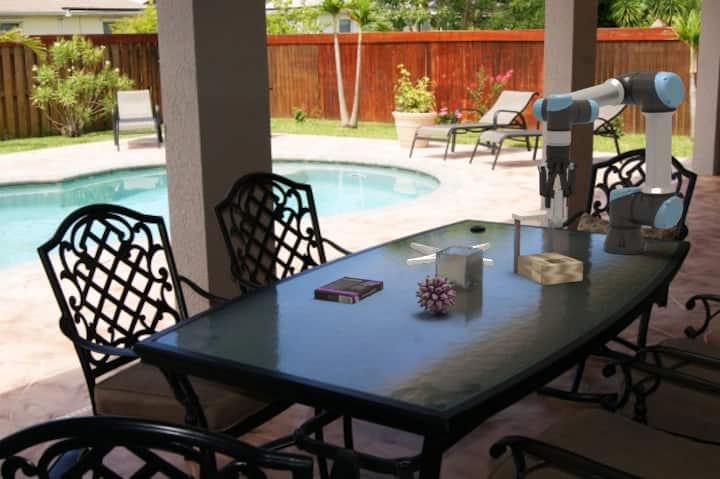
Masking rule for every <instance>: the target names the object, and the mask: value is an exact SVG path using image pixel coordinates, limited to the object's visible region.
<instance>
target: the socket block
mask: <svg viewBox="0 0 720 479" xmlns="http://www.w3.org/2000/svg"><path fill="white" fill-rule="evenodd" d="M517 274H518V275H520V276H523V277H525V278H527V279H530V280H532V281H534V282H536V283H539V284H541V285H543V286H546V285H547V286H548V285H556V284H564V283H573V282H581V281H583V278H584V277H583V276H584V262H583V261H581V260H577V259H575V258H572V257H570V256H566V255H564V254H561V253H559V252H555V251H554V252H549V253H548V252H543V253H542V252H541V253H534V254H533V253H532V254H523V255H522V254H520V256H518V273H517Z"/></svg>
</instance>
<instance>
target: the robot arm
mask: <svg viewBox="0 0 720 479" xmlns="http://www.w3.org/2000/svg"><path fill="white" fill-rule="evenodd" d="M684 97H685V85H684V83H683V81H682V79H681V77H680V76H679V75H678V74H676V73H675V72H669V71H633V72H629V73H625V74H621V75H618V76H615V77H611V78H608V79H607V80H605V81H604V82H603V83H601V84H598V85H594V86H591V87H587V88H583V89H580V90H576V91H573V92H569V93H566V94H551V95H549V96H548V97H547V98H546V97H544V98H542V97H541V98H538V99H536V100H535V102H533V105H532V115H533V117H534V119H535V120H536V121H540V122H544V123H546V138H545V140H546V141H545V142H546V146H545V157H546V159H545V162H544V163H542V164H541V165H540V164H539V165H537V170H538V173H539V174H538V175H539V176H538V177H539V178H538V179H539V180H538V182H539V183H538V184H539V185H538V186H539V189H538V191H539V193H538V194H539V197H543V198H544V207H545V209H546V210H547V218H549V219H553V206H554V199H553V198H551V197H552V192H553V188H554V187H555V181H556V178H557V176H559V177H558V178H559V182H560V184H559V185H560V189H563V219H565V218H567V208H569V207H568V206H569V199H570V198H571V196H574V195H575V187H576V172H577V169H578V166H579V164H577V163H573V162H571V159H570V156H571V145H570V144H571V142H572V125H581V124H586V125H587V124H590V123H591V124H592V123H594V122H596V121H597V120H598V117H599V115H600V108H603V107H606V106H611V107H617V106H621V105H622V106H623V105H628V106H640V113H641V114H642V115H643V117H644V118H645V185H644V186H643V187H642V186H633V187H632V186H631V187H621V188H615V189H612V190H611V192H610V197H609V200H608V202H609V207H608V208H609V213H608V214H609V216H608V230H607V232H606V233H607V234H606V236H605V239H604V242H603V245H602V246H603V247H602V249H603V251H604V252H606V253H610V254H611V253H612V254H618V255H640V254H643V253H646V252H647V244H646V239H645V236H644V233H643V226H646V227H650V228H656V229H663V230H664V229H665V230H669V229H672V228H673V227H675V226H676V225H677V224H678V222H679V221H680V220H681V217H682V215H683V210H684V203H683V201H682V199H681V198H680V197H679V196H678V195H677V190H676V188H675V187H674V186H673V185H672V150H673V149H672V148H673V147H672V142H673V141H672V140H673V138H672V137H673V136H672V133H673V130H672V129H673V125H672V124H673V119H672V118H673V115H674V114H676V113H677V108H678V107H679V106H680V105H681V104H682V102H683V100H684ZM567 170H568V171H567ZM547 171H548V172H547Z"/></svg>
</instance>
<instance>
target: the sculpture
mask: <svg viewBox="0 0 720 479" xmlns="http://www.w3.org/2000/svg"><path fill="white" fill-rule="evenodd" d="M470 247H473V248H479V249H482V250H483V251H482V252H484V251H486V250H489V249H491V243H490V242H486V243H482V244H477V245H473V246H470ZM410 249H413V250H414V251H416V250H417V252H418V253H421V254H423V256H418V257H413V258H409V259H407V260H406V266H407V265H409V266H415V265H414V264H418V265H423V264H422V263H428V264H431V263H430V262H435V260H436V252H437V251H440V250H443V249H444V248H438V247H433V246H429V245H424V244H420V243H415V242H411V243H410ZM425 254H426V255H425ZM427 255H428V256H427ZM482 258H483V257H482ZM483 262H484V264H485V265H484V266H488V265H490V266H489V267H494V260H493V259H488V258H483Z"/></svg>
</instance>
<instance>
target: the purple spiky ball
mask: <svg viewBox="0 0 720 479" xmlns="http://www.w3.org/2000/svg"><path fill="white" fill-rule="evenodd" d="M448 279H449V277H448V276H447V275H446V276H445V277H443V278H442V273H439V274H438V272H437V273H434V276H433V277H432V276H431V275H430V274H426V277H425V281H424V280H421V281H418V282H417V283H416V284H417V286H419V287H418V289H417V290H415V297H416V298H420V299H419V300H418V301H417V304H419V307H420V308H424V309H423V311H425V312H426V311H427V310H428V309H429V311H430V315H437V312H438V310H439V311H441V312H442V314H446V310H447V309H448V308H447V306H448V307H452V306H454V305H455V304H456V303H455V302H454V301H453V298H455V297H456V296H457V295H458V293H457V291H454V290H452V289H453V288H454V287H455V286H456V284H451V282H452V280H451V279H449V280H448ZM456 294H457V295H456ZM456 298H457V297H456Z"/></svg>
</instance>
